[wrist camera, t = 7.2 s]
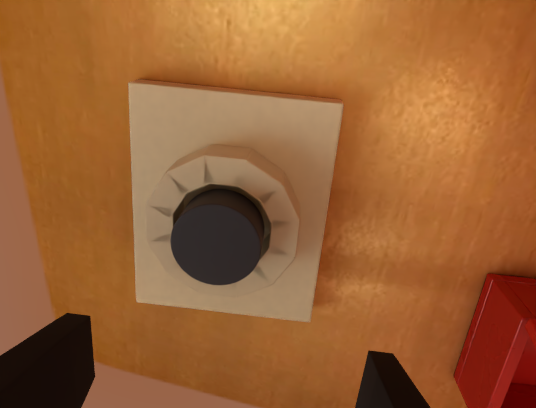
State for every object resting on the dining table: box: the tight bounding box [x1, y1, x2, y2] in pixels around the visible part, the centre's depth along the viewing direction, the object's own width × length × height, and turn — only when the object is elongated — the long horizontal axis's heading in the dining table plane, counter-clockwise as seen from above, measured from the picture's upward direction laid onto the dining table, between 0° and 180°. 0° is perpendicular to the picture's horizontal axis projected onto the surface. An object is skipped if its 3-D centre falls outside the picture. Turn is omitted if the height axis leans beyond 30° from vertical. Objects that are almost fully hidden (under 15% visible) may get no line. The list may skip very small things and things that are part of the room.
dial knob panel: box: [128, 79, 344, 322], centre depth 19 cm, size 11×9×3 cm
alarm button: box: [170, 189, 265, 285], centre depth 17 cm, size 4×4×2 cm
